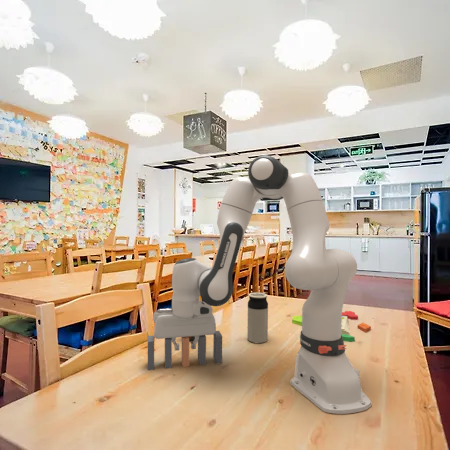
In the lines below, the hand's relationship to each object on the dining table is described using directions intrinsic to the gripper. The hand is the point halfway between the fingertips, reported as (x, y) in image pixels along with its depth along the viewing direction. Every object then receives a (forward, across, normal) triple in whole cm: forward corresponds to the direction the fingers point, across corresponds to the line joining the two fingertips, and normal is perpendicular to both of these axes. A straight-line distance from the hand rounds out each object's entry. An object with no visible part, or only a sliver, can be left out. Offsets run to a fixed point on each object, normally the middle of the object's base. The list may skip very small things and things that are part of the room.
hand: (185, 349), depth 102 cm
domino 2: (+5, -6, 0) cm, 7 cm away
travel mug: (+5, +30, +14) cm, 33 cm away
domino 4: (+5, +6, 0) cm, 7 cm away
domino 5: (+5, +11, 0) cm, 12 cm away
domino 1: (+5, -11, 0) cm, 12 cm away
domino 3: (+5, 0, 0) cm, 5 cm away
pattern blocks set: (+5, +68, +24) cm, 72 cm away
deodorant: (+5, +4, +20) cm, 21 cm away
